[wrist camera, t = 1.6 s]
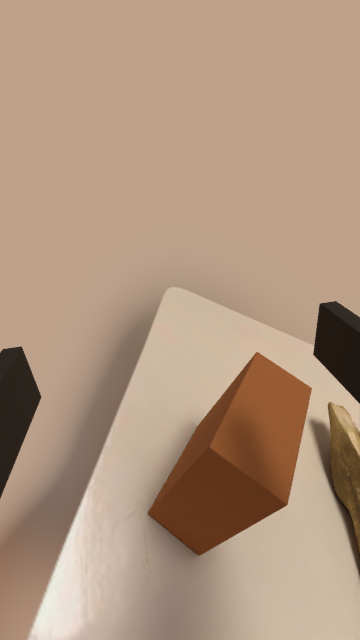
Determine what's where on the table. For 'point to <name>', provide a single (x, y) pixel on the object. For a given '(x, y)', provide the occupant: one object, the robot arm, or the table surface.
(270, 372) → the brown rectangular block
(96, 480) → the table surface
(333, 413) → the tool
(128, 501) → the table surface
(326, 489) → the table surface
